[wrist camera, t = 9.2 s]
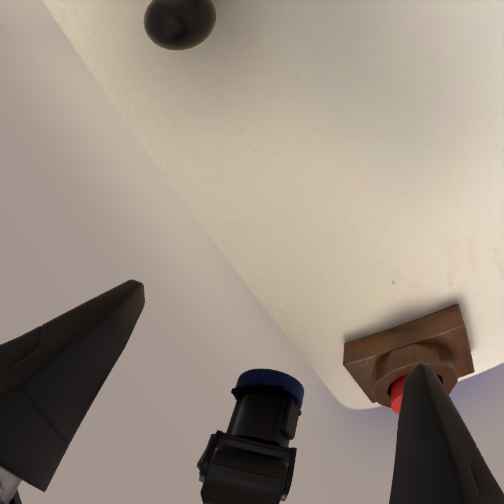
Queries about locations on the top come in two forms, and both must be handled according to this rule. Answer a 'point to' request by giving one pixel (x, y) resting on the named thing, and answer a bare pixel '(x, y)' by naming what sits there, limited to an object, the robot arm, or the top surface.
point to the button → (397, 393)
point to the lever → (179, 22)
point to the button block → (411, 353)
